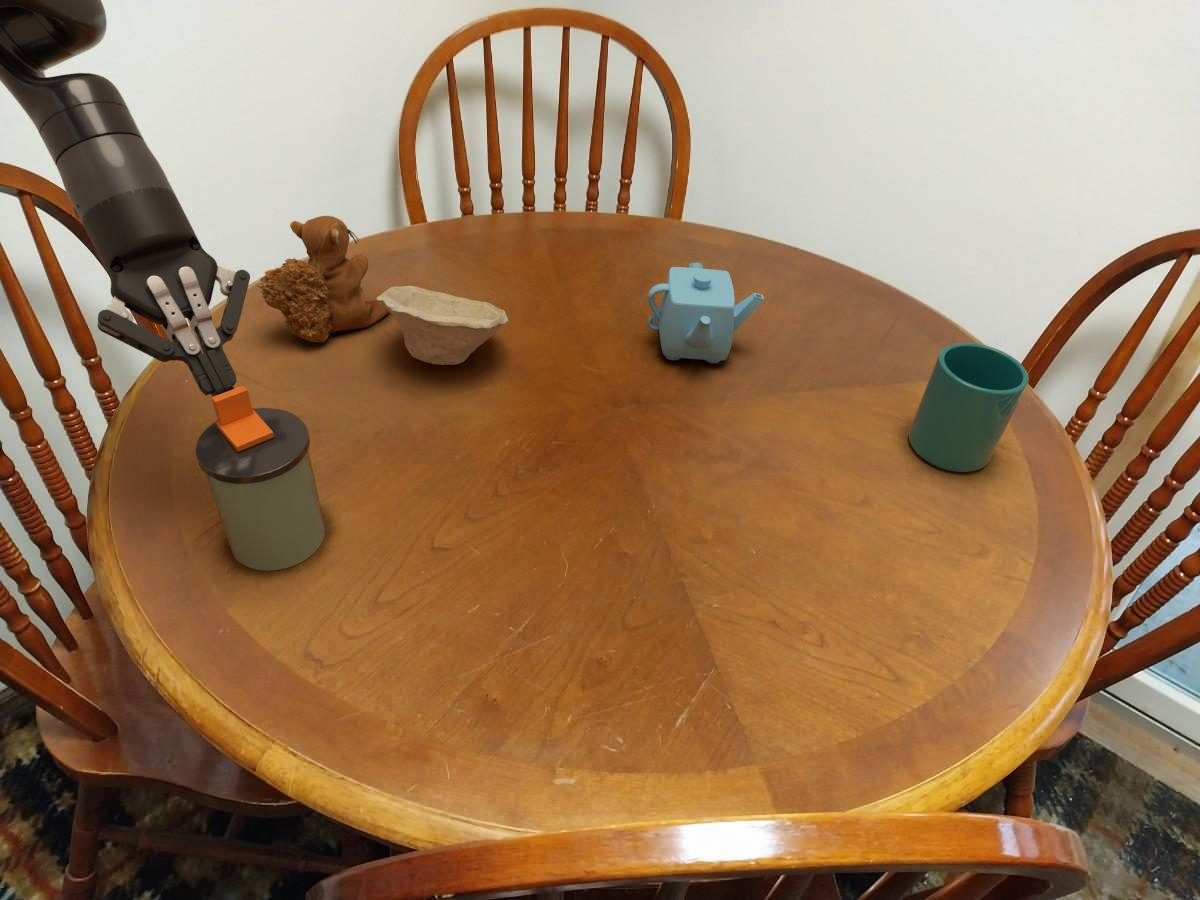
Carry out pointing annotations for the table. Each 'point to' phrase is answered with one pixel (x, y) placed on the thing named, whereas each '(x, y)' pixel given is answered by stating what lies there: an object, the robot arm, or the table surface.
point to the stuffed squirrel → (322, 284)
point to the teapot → (698, 313)
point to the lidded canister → (265, 493)
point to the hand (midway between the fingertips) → (224, 394)
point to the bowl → (441, 323)
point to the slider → (240, 419)
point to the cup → (967, 406)
